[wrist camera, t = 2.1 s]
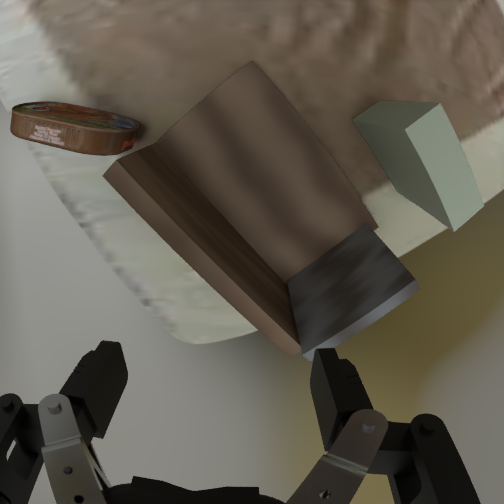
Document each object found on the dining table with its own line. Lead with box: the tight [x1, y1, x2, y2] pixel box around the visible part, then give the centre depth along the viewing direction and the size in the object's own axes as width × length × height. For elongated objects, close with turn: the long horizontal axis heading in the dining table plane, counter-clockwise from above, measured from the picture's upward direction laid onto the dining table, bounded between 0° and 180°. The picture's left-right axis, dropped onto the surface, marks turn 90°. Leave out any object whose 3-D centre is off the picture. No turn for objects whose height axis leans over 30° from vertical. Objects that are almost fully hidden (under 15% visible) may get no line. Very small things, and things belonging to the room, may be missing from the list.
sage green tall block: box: [352, 101, 484, 231], centre depth 25 cm, size 4×10×12 cm, turn 40°
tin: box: [10, 102, 139, 156], centre depth 25 cm, size 15×3×8 cm, turn 70°
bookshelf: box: [103, 60, 420, 362], centre depth 26 cm, size 14×22×14 cm, turn 40°
